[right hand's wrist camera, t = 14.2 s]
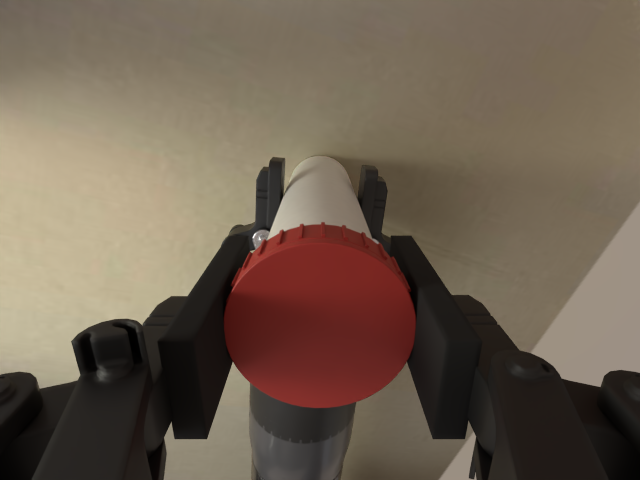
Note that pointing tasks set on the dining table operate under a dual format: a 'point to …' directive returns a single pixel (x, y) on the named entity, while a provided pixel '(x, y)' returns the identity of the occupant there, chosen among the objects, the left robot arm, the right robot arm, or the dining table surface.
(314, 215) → the bottle
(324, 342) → the lid
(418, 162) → the dining table surface
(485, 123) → the dining table surface
